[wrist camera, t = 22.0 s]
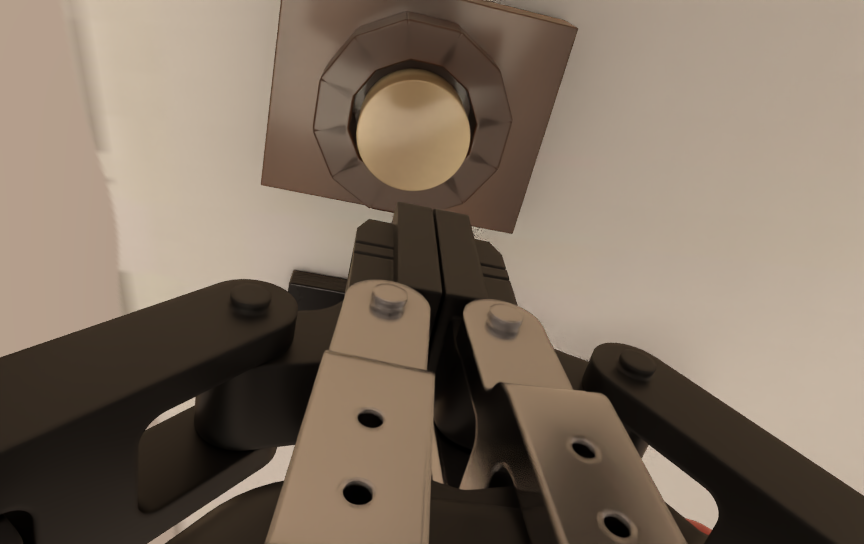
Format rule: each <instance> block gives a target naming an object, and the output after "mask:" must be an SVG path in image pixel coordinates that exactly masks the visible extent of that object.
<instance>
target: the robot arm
mask: <svg viewBox="0 0 864 544" xmlns="http://www.w3.org/2000/svg"><path fill="white" fill-rule="evenodd" d="M505 269H506V267H505V264H504V260H503V257H502V255H501V254H500V253H499V252H498V251H497V250H496V249H495V248H494V247H493V246H492V245H491V244H490V243H489V242H487V241H482V240H477V239H474V235H473V231H472V227H471V223H470V219H469V216H468V215H465V214H460V213H455V212H450V211H445V210H440V209H433V210H432V208H429V207H424V206H419V205H414V204H409V203H403V202H397V204H396V208H395V212H394V216H393V221H392V223H387V222H381V221H376V220H371V219H369V220H367V221H366V222H365V223H363V224H362V225H361V226H359V227H358V228H357V232H356V238H355V243H354V248H353V253H352V259H351V264H350V269H349V274H348V280H347V285H346V290H345V297H344V300H343V301H341V302H340V303H338V304H336V305H334V306H332V307H328V308H325V309H319V310H305V311H298V304H297V302H296V300H295V298H294V297H293V296H292V295H291V294H290V293H289V292H287V291H286V290H284V289H283V288H281V287H279V286H276V285H274V284H271V283H267V282H263V281H258V280H250V279H238V280H229V281H224V282H221V283H218V284H215V285H212V286H209V287H206V288H203V289H200V290H197V291H194V292H191V293H188V294H185V295H182V296H179V297H176V298H174V299H171V300H168V301H165V302H162V303H159V304H156V305H153V306H150V307H147V308H144V309H141V310H138V311H135V312H132V313H130V314H127V315H124V316H121V317H118V318H115V319H112V320H109V321H106V322H103V323H100V324H97V325H95V326H91V327H89V328H86V329H83V330H80V331H77V332H74V333H71V334H68V335H65V336H62V337H60V338H56V339H53V340H50V341H47V342H44V343H42V344H39V345H36V346H33V347H30V348H27V349H24V350H21V351H18V352H15V353H12V354H9V355H6V356H3V357H1V358H0V544H147V543H149V542H150V541H152V540H153V539H155V538H156V537H158V536H159V535H161V534H162V533H164V532H165V531H167V530H168V529H170V528H171V527H173V526H175V525H176V524H178V523H179V522H181V521H182V520H184V519H185V518H187V517H188V516H190V515H191V514H193V513H194V512H196V511H197V510H199V509H200V508H202V507H203V506H205V505H206V504H208V503H209V502H211V501H212V500H214V499H216V498H217V497H219V496H220V495H222V494H223V493H225V492H226V491H228V490H229V489H231V488H232V487H234V486H235V485H237V484H238V483H240V482H241V481H243V480H244V479H246V478H247V477H249V476H250V475H252V474H253V473H255V472H257V471H258V470H260V469H261V468H263V467H264V466H265V465H266V464H268V463H269V462H270V461H271V459H272V458H273V457H274V455H275V453H276V450H277V447H280V446H289V445H295V447H294V450H293V454H292V457H291V460H290V463H289V467H288V470H287V473H286V476H285V479H284V481H280V482H275V483H271V484H268V485H264V486H261V487H258V488H254V489H252V490H249V491H247V492H245V493H242V494H240V495H237V496H235V497H233V498H232V499H230V500H228V501H226V502H224V503H222V504H221V505H219V506H217V507H216V508H214V509H213V510H211V511H210V512H208V513H207V514H206V515H204V516H203V517H201V518H200V519H199V520H197V521H196V522H194V523H193V524H192V525H190V526H189V527H188V528H186V529H185V530H183V531H182V532H181V533H179V534H178V535H176V536H175V537H174V538H172V539H171V540H169V541H168V542H167V543H165V544H864V496H863V495H862V494H860V493H859V492H857V491H856V490H854V489H853V488H851V487H850V486H848V485H847V484H845V483H844V482H842V481H841V480H839V479H838V478H836V477H835V476H833V475H832V474H830V473H829V472H827V471H826V470H824V469H823V468H821V467H820V466H818V465H817V464H815V463H814V462H812V461H811V460H809V459H808V458H806V457H805V456H803V455H802V454H800V453H799V452H797V451H796V450H794V449H793V448H791V447H790V446H788V445H787V444H785V443H784V442H782V441H781V440H779V439H778V438H776V437H775V436H773V435H772V434H770V433H769V432H767V431H766V430H764V429H763V428H761V427H760V426H758V425H757V424H755V423H754V422H752V421H751V420H749V419H748V418H746V417H745V416H743V415H742V414H740V413H739V412H737V411H736V410H734V409H733V408H731V407H730V406H728V405H727V404H725V403H724V402H722V401H721V400H719V399H718V398H716V397H715V396H713V395H712V394H710V393H709V392H707V391H706V390H704V389H703V388H701V387H700V386H698V385H697V384H695V383H694V382H692V381H691V380H689V379H688V378H686V377H685V376H683V375H682V374H680V373H679V372H677V371H676V370H674V369H673V368H671V367H670V366H668V365H667V364H665V363H664V362H662V361H661V360H659V359H658V358H656V357H654V356H653V355H651V354H649V353H647V352H645V351H643V350H641V349H638V348H636V347H633V346H630V345H626V344H620V343H604V344H601V345H599V346H597V347H596V348H595V349H594V351H593V353H592V356H591V358H590V360H589V362H588V361H585V360H582V359H580V358H577V357H574V356H571V355H569V354H566V353H563V352H561V351H558V350H556V349H554V348H553V346H552V344H551V342H550V340H549V338H548V336H547V334H546V332H545V330H544V328H543V326H542V324H541V323H540V321H539V320H538V319H537V318H536V317H535V316H534V315H532V314H531V313H529V312H528V311H526V310H525V309H523V308H521V307H519V306H518V305H517V302H516V299H515V295H514V292H513V289H512V286H511V283H510V281H509V276H508V273H507V270H505ZM194 397H196V400H195V406H193V407H191V408H189V409H187V410H185V411H183V412H181V413H179V414H177V415H175V416H173V417H171V418H169V419H167V420H165V421H163V422H161V423H159V424H157V425H155V426H153V427H151V428H149V429H147V430H145V429H146V428H147V427H148V425H149V424H150V423H151V422H152V421H153V420H154V419H155V418H157V417H158V416H159V415H161V414H162V413H164V412H165V411H167V410H169V409H171V408H173V407H175V406H177V405H180V404H182V403H184V402H186V401H188V400H190V399H192V398H194ZM648 445H650V446H651V447H653V448H654V449H655V450H656V451H658V452H659V453H660V454H662V455H663V456H664V457H666V458H667V459H668V460H669V461H671V462H672V463H673V464H675V465H676V466H677V467H679V468H680V469H681V470H682V471H684V472H685V473H686V474H688V475H689V476H690V477H692V478H693V479H694V480H695V481H697V482H698V483H699V484H701V485H702V486H703V487H704V488H706V489H707V490H708V491H709V492H710V494H711V495H712V496H713V498H714V499H715V501H716V504H717V507H718V511H719V517H718V521H717V523H716V525H715V526H714V528H713V530H712V531H711V533H710V534H709V535H708V534H705V533H703V532H701V531H700V530H699V529H697V528H696V527H695V526H694V525H693V524H691V523H690V522H689V521H688V520H686V519H685V518H684V517H683V516H682V515H680V514H679V513H678V512H677V511H675V510H674V509H673V508H672V507H671V506H669V505H668V504H667V503H666V502H664V500H663V498H662V496H661V494H660V492H659V491H658V489H657V487H656V485H655V483H654V481H653V479H652V478H651V476H650V474H649V472H648V470H647V468H646V467H645V465H644V463H643V461H642V459H641V458H642V457H643V455H644V453H645V451H646V449H647V447H648ZM431 474H432V480H431Z"/></svg>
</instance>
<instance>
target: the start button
mask: <svg viewBox="0 0 864 544" xmlns="http://www.w3.org/2000/svg"><path fill="white" fill-rule="evenodd" d="M356 140H357V146H358V150H359V154H360V156H361V158H362V160H363V162H364V164H365V165H366V167H367V168H368V170H369V171H370V172H371V173H372V174H373V175H374V176H375V177H376V178H377V179H379V180H380V181H382V182H383V183H385V184H387V185H389V186H391V187H394V188H397V189H400V190H406V191H420V190H426V189H430V188H433V187H436V186H438V185H440V184H442V183H444V182H445V181H447V180H448V179H449V178H450V177H452V176H453V175H454V174H455V173H456V172H457V170H458V169H459V168H460V166H461V165H462V163H463V162H464V160H465V158H466V155H467V152H468V149H469V144H470V126H469V121H468V118H467V115H466V112H465V109H464V106H463V103H462V101H461V99H460V97H459V95H458V93H457V92H456V90H455V89H454V88H453V87H452V86H451V84H450V83H449V82H447V81H446V80H445V79H444V78H442V77H441V76H439V75H437V74H435V73H433V72H430V71H427V70H423V69H413V68H409V69H402V70H398V71H395V72H392V73H390V74H388V75H386V76H384V77H382V78H381V79H380V80H379V81H377V82H376V83H375V84H374V85H373V86H372V87H371V89H370V90H369V91H368V93H367V95H366V96H365V98H364V101H363V103H362V106H361V110H360V114H359V119H358V124H357V131H356Z"/></svg>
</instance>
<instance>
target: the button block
mask: <svg viewBox="0 0 864 544" xmlns="http://www.w3.org/2000/svg"><path fill="white" fill-rule="evenodd" d="M577 31H578V28H577V27H575V26H573V25H572V24H570V23H568V22H567V21H565V20H561V19H557V18H553V17H549V16H545V15H541V14H537V13H533V12H529V11H525V10H521V9H517V8H513V7H509V6H505V5H501V4H497V3H493V2H489V1H485V0H281V5H280V14H279V23H278V32H277V42H276V51H275V60H274V69H273V78H272V87H271V96H270V105H269V115H268V124H267V133H266V142H265V151H264V160H263V169H262V178H261V185H264V186H269V187H274V188H280V189H285V190H290V191H295V192H300V193H305V194H310V195H316V196H321V197H326V198H331V199H336V200H341V201H346V202H351V203H357V204H362V205H366V206H367V207H368V208H372V209H377V210H382V211H387V212H392V213H394V212H395V208H396V204H397V202H403V203H409V204H414V205H419V206H424V207H429V208H432V210H433V209H440V210H445V211H450V212H455V213H460V214H465V215H468V216H469V219H470V223H471V226H475V227H480V228H485V229H490V230H495V231H500V232H506V233H511V234H512V233H513V230H514V227H515V224H516V221H517V218H518V215H519V212H520V209H521V206H522V202H523V199H524V196H525V193H526V190H527V187H528V184H529V181H530V177H531V174H532V171H533V168H534V165H535V162H536V159H537V156H538V152H539V149H540V146H541V143H542V140H543V137H544V134H545V131H546V127H547V124H548V121H549V118H550V115H551V112H552V109H553V106H554V102H555V99H556V96H557V93H558V90H559V87H560V84H561V81H562V77H563V74H564V71H565V68H566V65H567V62H568V59H569V56H570V52H571V49H572V46H573V43H574V40H575V37H576V34H577ZM409 68H413V69H423V70H427V71H430V72H433V73H435V74H437V75H439V76H441V77H442V78H444V79H445V80H446V81H447V82H449V83H450V84H451V86H452V87H453V88H454V89H455V90H456V92H457V93H458V95H459V97H460V99H461V101H462V103H463V106H464V109H465V112H466V115H467V118H468V121H469V126H470V144H469V149H468V152H467V155H466V158H465V160H464V162H463V163H462V165H461V166H460V168H459V169H458V170H457V172H456V173H455V174H454V175H453V176H452V177H450V178H449V179H448V180H447V181H445V182H444V183H442V184H440V185H438V186H436V187H433V188H430V189H426V190H420V191H406V190H400V189H397V188H394V187H391V186H389V185H387V184H385V183H383V182H382V181H380V180H379V179H377V178H376V177H375V176H374V175H373V174H372V173H371V172H370V171H369V170H368V168H367V167H366V165H365V164H364V162H363V160H362V158H361V156H360V154H359V150H358V146H357V140H356V131H357V124H358V119H359V114H360V110H361V106H362V103H363V101H364V98H365V96H366V95H367V93H368V91H369V90H370V89H371V87H372V86H373V85H374V84H375V83H376V82H377V81H379V80H380V79H381V78H382V77H384V76H386V75H388V74H390V73H392V72H395V71H398V70H402V69H409Z"/></svg>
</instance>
